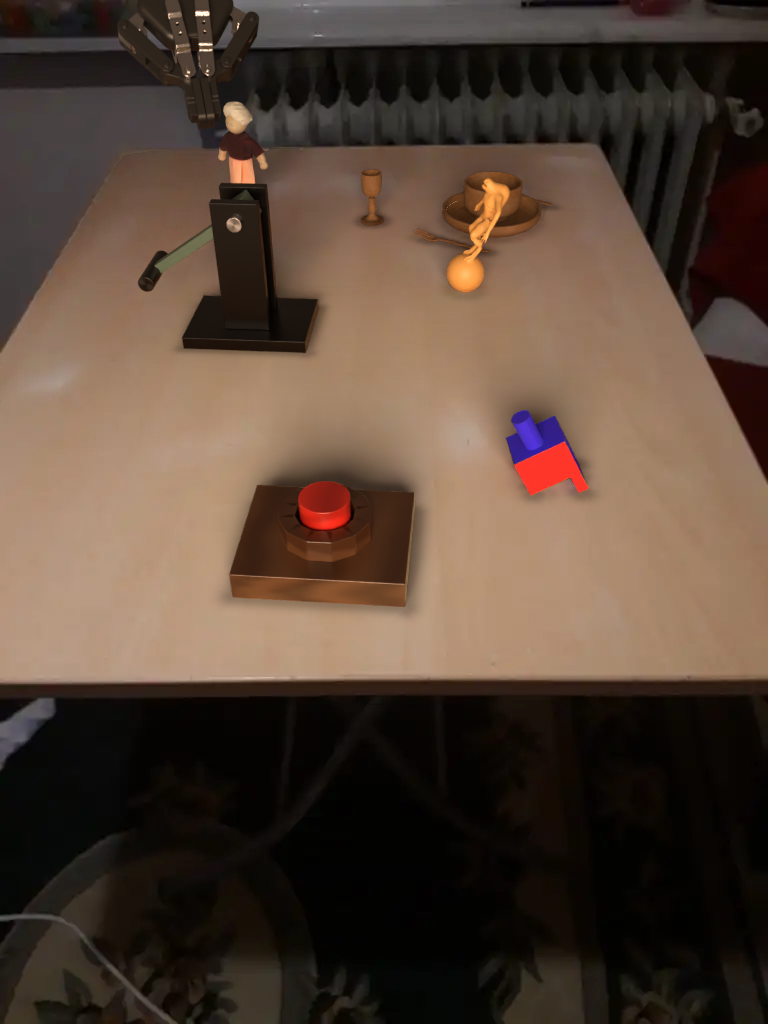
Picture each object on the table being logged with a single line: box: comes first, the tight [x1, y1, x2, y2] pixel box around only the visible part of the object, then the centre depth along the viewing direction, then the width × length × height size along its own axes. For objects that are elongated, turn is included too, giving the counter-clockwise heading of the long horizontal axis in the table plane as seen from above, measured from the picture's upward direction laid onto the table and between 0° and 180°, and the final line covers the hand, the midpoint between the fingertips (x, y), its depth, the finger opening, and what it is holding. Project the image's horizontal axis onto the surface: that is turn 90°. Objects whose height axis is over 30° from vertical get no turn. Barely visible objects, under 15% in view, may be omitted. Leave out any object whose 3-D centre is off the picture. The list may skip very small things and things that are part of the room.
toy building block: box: [505, 409, 589, 496], centre depth 74 cm, size 4×4×8 cm
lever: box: [137, 190, 262, 293], centre depth 90 cm, size 13×6×2 cm
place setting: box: [360, 168, 553, 253], centre depth 115 cm, size 18×20×6 cm
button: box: [298, 480, 351, 531], centre depth 66 cm, size 4×4×2 cm
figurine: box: [446, 178, 510, 293], centre depth 97 cm, size 8×6×12 cm
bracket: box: [181, 182, 320, 354], centre depth 91 cm, size 12×9×14 cm
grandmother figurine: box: [217, 101, 269, 184], centre depth 115 cm, size 8×4×13 cm, turn 67°
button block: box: [228, 483, 416, 608], centre depth 68 cm, size 12×10×4 cm
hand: (207, 124), depth 83 cm, fingers closed
